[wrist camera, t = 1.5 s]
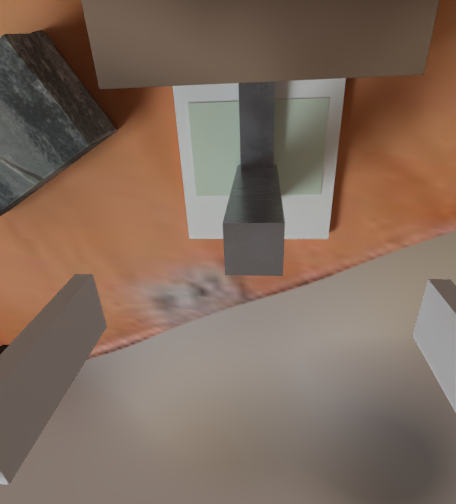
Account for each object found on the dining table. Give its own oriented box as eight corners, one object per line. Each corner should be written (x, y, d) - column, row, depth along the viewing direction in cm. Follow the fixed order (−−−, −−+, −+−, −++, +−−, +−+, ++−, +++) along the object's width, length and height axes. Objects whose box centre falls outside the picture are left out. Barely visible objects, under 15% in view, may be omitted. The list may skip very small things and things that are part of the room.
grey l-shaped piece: (214, -55, 20) (168, -167, 10) (300, -62, 19) (336, -188, 10) (226, 202, 28) (206, 274, 18) (288, 201, 27) (302, 275, 17)
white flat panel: (142, -228, 18) (135, -245, 17) (379, -262, 17) (386, -282, 16) (191, 233, 31) (189, 239, 30) (326, 233, 30) (328, 239, 29)
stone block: (-72, 127, 29) (-136, 138, 24) (41, 17, 24) (-12, 5, 19) (8, 213, 32) (-36, 237, 27) (121, 131, 27) (92, 144, 23)
